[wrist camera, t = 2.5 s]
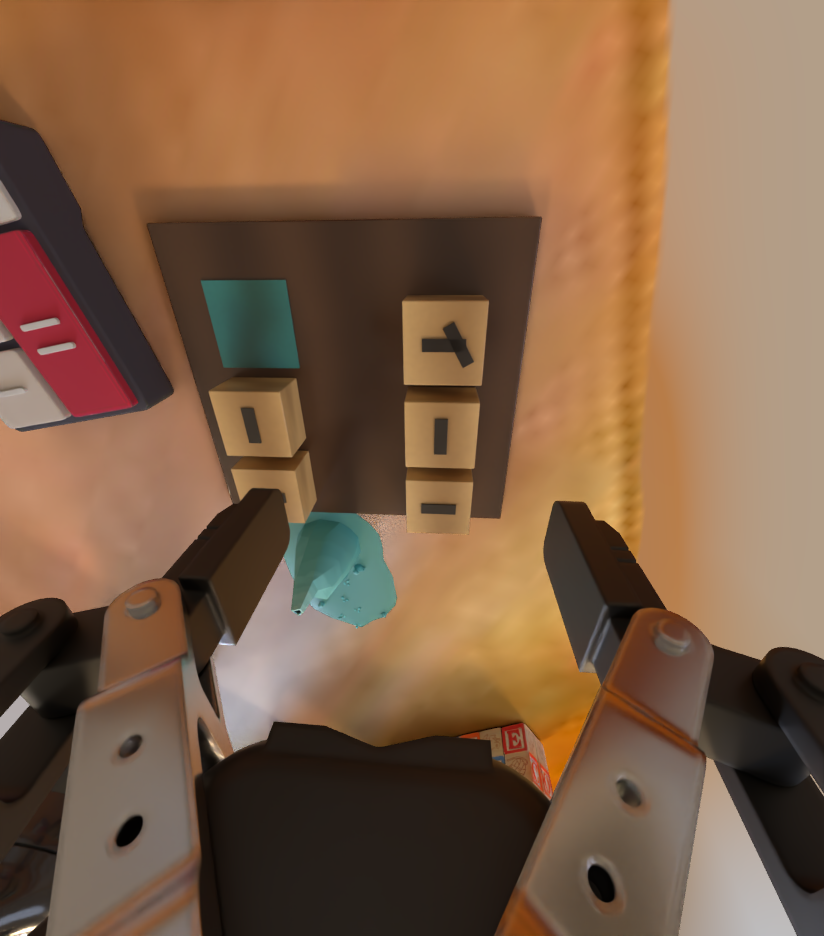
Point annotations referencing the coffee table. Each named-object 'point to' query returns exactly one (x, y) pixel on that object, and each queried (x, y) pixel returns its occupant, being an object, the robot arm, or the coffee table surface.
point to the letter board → (351, 359)
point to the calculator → (60, 305)
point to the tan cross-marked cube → (444, 339)
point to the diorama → (339, 568)
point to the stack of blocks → (519, 753)
